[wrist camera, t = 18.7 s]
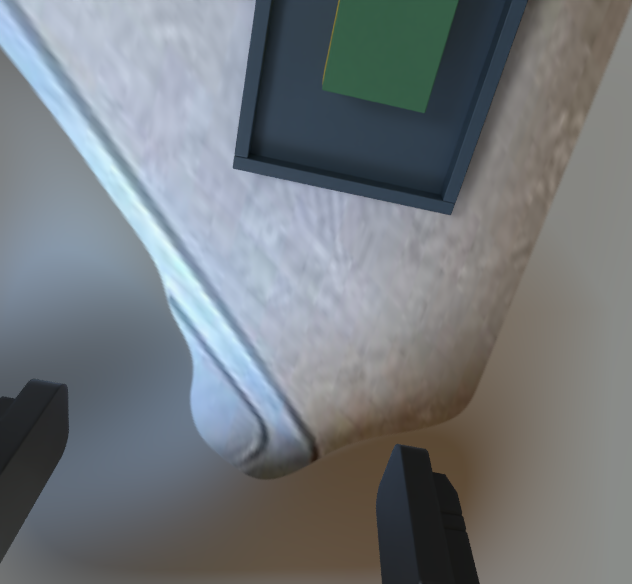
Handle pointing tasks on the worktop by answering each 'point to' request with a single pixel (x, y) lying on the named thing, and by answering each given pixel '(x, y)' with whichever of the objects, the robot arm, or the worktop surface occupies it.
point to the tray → (368, 107)
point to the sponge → (388, 50)
